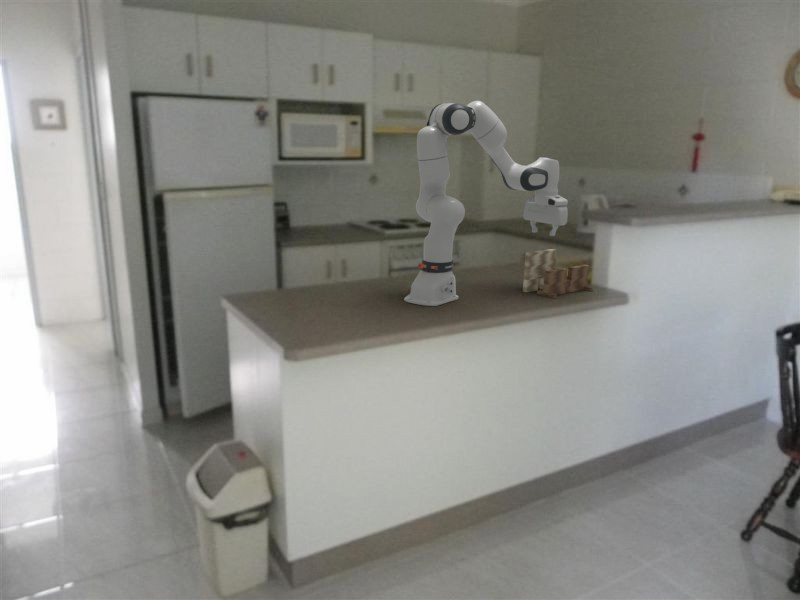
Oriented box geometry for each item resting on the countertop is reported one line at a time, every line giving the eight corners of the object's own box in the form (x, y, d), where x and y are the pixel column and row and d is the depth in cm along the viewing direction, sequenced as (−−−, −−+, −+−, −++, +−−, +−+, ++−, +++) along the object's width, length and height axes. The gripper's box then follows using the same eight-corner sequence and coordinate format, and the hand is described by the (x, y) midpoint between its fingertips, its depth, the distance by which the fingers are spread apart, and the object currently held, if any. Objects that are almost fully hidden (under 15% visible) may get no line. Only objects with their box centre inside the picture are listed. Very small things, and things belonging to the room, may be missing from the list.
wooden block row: (552, 298, 231) (554, 273, 229) (537, 294, 238) (539, 269, 235) (592, 290, 244) (595, 266, 242) (577, 286, 251) (579, 263, 248)
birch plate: (526, 292, 240) (529, 253, 235) (522, 291, 241) (525, 252, 237) (553, 287, 248) (557, 249, 244) (550, 286, 250) (553, 248, 246)
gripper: (521, 197, 242) (519, 231, 245) (560, 202, 225) (557, 238, 229) (532, 196, 245) (529, 229, 249) (571, 201, 229) (568, 236, 232)
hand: (543, 233), depth 239 cm, fingers open, 8 cm apart
